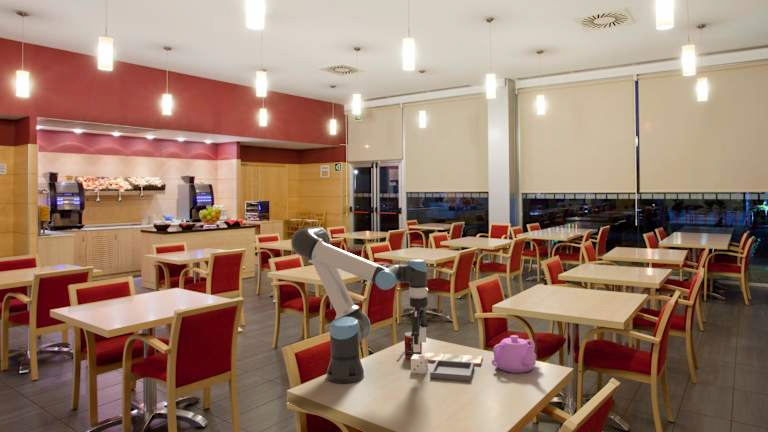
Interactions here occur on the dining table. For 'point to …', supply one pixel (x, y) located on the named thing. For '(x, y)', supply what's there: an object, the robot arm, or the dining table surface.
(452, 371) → the dice tray
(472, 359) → the board
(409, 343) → the canned food
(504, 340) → the teapot
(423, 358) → the cream cube
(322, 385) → the dining table surface
